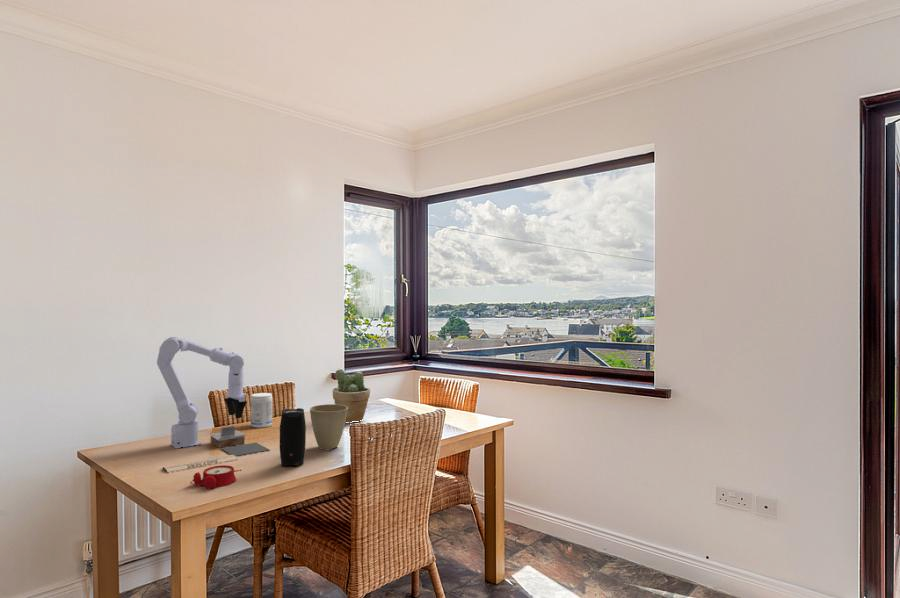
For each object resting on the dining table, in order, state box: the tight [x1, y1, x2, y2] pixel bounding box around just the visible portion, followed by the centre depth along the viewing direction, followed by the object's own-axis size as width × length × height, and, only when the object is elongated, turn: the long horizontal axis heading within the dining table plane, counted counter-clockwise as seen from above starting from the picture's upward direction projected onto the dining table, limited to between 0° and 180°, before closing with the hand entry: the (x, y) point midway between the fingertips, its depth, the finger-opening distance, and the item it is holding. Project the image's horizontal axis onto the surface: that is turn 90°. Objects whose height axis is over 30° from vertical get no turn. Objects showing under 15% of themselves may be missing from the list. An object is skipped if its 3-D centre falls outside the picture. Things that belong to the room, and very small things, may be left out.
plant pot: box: [309, 403, 348, 450], centre depth 217 cm, size 15×15×16 cm
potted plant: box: [332, 368, 371, 422], centre depth 266 cm, size 18×19×25 cm
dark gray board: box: [220, 442, 271, 457], centre depth 212 cm, size 14×14×1 cm
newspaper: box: [162, 454, 238, 474], centre depth 193 cm, size 24×7×2 cm, turn 132°
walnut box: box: [210, 436, 246, 449], centre depth 221 cm, size 10×10×3 cm
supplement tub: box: [250, 392, 273, 429], centre depth 253 cm, size 10×10×15 cm
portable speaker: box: [279, 407, 307, 468], centre depth 194 cm, size 9×9×20 cm
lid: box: [210, 425, 246, 441], centre depth 221 cm, size 10×10×5 cm
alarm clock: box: [190, 464, 242, 490], centre depth 174 cm, size 10×6×15 cm
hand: (235, 416), depth 225 cm, fingers open, 7 cm apart
